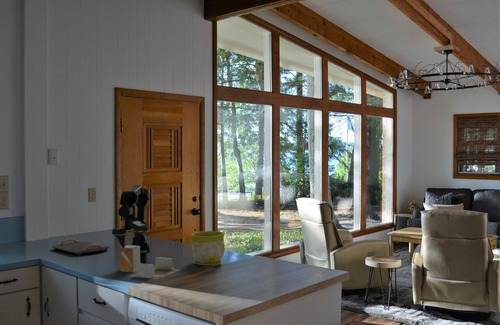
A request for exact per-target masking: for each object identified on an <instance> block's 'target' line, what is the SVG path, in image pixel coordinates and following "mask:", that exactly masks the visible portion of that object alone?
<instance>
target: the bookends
mask: <svg viewBox="0 0 500 325" xmlns="http://www.w3.org/2000/svg"><path fill="white" fill-rule="evenodd" d="M173 260H174V259H173V258H171V257H161V256H155V260H154V261H155V263H154V264H151V263H145V264H142V263H136V272H135V274H136V273H137V275H135V276H134V277H135V278H141V277H142V279H149V278H153V277H154V267H156V269H160V270H169V271H172V270H175V269H176V268H174V267H173V266H174V265H173V264H174V263H173ZM134 277H133V278H134Z"/></svg>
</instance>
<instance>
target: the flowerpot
mask: <svg viewBox="0 0 500 325" xmlns="http://www.w3.org/2000/svg"><path fill="white" fill-rule="evenodd" d="M224 236H225V232H223V231H219V230H212V231H211V230H208V231H207V230H206V231H205V230H204V231H196V232H191V234H190V237H191V245H190V246H191V255H192V257H193V259H194V260H195V261H194V263H195V264H196V265H199V266H214V267H215V266H216V267H217V266H219V265H220V264H221V263H222V261H223V260H222V258H223V256H225V250H226V246H225V245H226V244H225V238H224Z"/></svg>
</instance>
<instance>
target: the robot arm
mask: <svg viewBox="0 0 500 325" xmlns="http://www.w3.org/2000/svg"><path fill="white" fill-rule="evenodd" d="M150 200H151V195H150V192H149V190H148V189H146V188H145V187H144V185H142V184H141V185H137V184H136V185H133V187H132V188H131V189H129V190H123V191H122V193H121V194H120V199H119V206H120V207H119V209H118V211H117V212H118V215H119V217H121V218H122V219H121V220H122V221H124V222H123V225H124V226H122V227H116V228H113V229H112V230H111V234H112V235H114V237H116V238H117V241H118V242H119V244H120V247H122V248H125V246H126V244H125V243H126V241H125V240H126V237H127V234H126V233H129V232H131V233H132V232H133V233H134V234H133V235H134V236H133V237H132V243H131V246H140V263H142V264H148V254H150V253H151V248H150V245H149V242H148V238H147V236H146V234H145V233H146V231H147V232H148V226H147V221H146V215H147V214H146V210H147V207H148V206H149V204H150ZM136 208H137V209H136Z"/></svg>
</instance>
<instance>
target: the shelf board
mask: <svg viewBox="0 0 500 325" xmlns="http://www.w3.org/2000/svg"><path fill="white" fill-rule="evenodd" d="M174 269H175V270H172V271H169V270H160V269H156V266H154V277H153V278H148V279H151V280H159V279H161V278H163V277H166V276H169V275H171V274H174V273H177V272H179V271H181V269H176V268H174ZM135 275H137V273H136V272H135V273H132V274H130V275H129V277H133V278H134V276H135ZM141 278H142V277H140V279H141ZM142 279H143V278H142Z"/></svg>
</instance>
